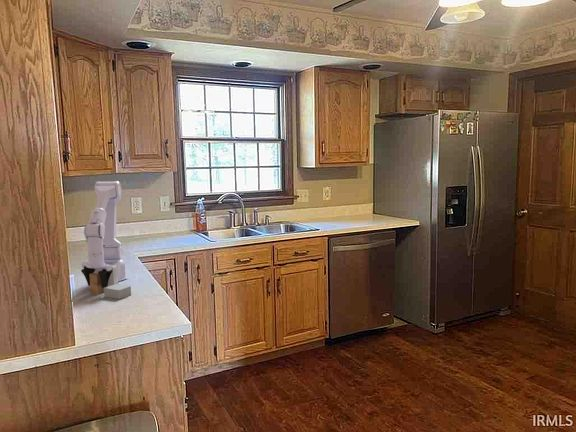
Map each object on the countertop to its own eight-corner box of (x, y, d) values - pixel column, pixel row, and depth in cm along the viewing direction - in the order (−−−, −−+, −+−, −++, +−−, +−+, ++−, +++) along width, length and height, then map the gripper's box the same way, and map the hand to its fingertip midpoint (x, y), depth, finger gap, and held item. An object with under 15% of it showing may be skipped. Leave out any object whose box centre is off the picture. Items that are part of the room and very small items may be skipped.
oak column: (98, 290, 178) (97, 271, 177) (105, 291, 176) (104, 272, 175) (90, 293, 174) (89, 274, 173) (97, 294, 173) (96, 275, 172)
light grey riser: (116, 292, 175) (115, 284, 175) (131, 294, 172) (130, 286, 172) (104, 296, 170) (103, 287, 169) (119, 299, 167) (119, 290, 166)
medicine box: (118, 284, 187) (117, 264, 186) (114, 287, 183) (113, 267, 182) (99, 284, 187) (98, 264, 186) (95, 287, 182) (94, 267, 181)
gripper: (74, 253, 173) (76, 286, 174) (101, 256, 167) (103, 291, 168) (89, 250, 179) (90, 282, 181) (115, 253, 173) (117, 286, 175)
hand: (97, 286), depth 175 cm, fingers open, 7 cm apart
